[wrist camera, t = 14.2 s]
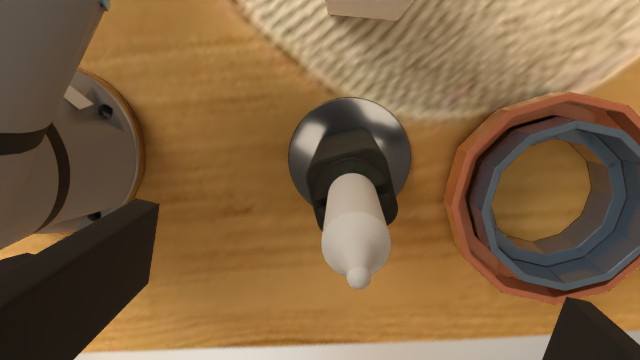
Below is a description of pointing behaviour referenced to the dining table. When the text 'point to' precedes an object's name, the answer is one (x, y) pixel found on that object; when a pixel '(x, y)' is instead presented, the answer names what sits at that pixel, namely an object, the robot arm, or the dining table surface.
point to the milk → (369, 8)
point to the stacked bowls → (585, 232)
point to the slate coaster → (345, 118)
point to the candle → (352, 204)
